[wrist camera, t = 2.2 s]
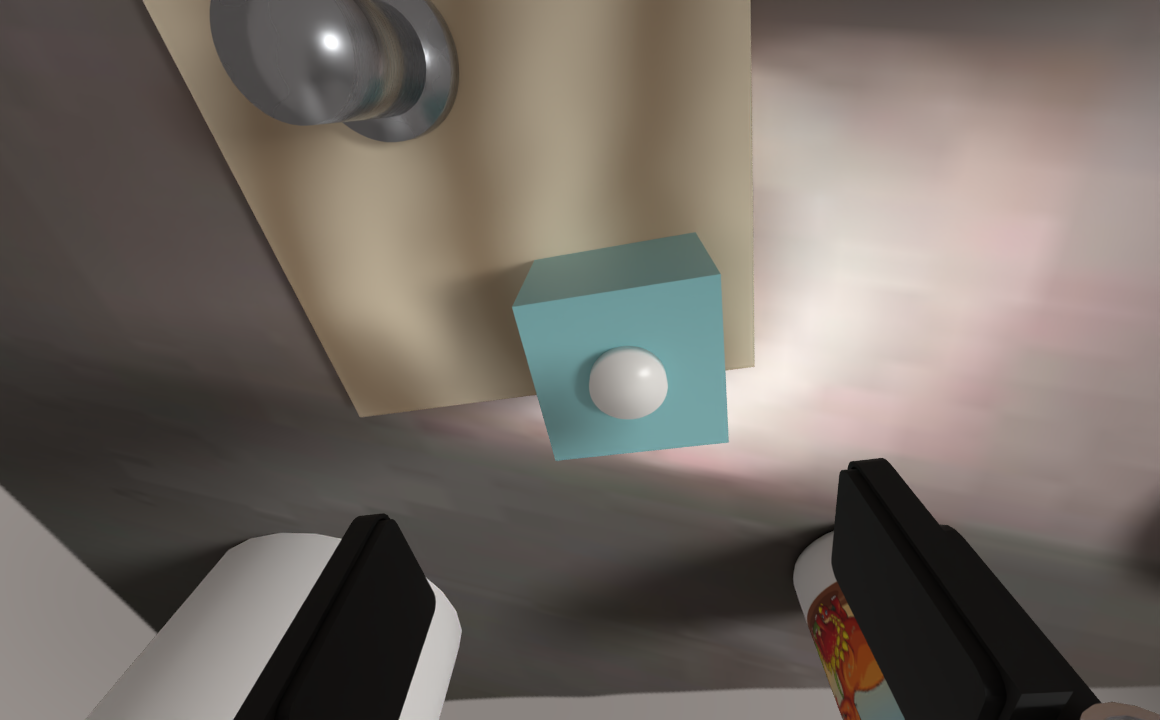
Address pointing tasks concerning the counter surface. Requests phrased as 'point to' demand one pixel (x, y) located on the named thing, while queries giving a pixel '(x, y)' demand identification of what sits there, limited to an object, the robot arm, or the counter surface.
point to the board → (497, 183)
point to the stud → (341, 62)
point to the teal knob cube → (627, 347)
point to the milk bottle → (840, 639)
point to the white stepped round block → (254, 638)
